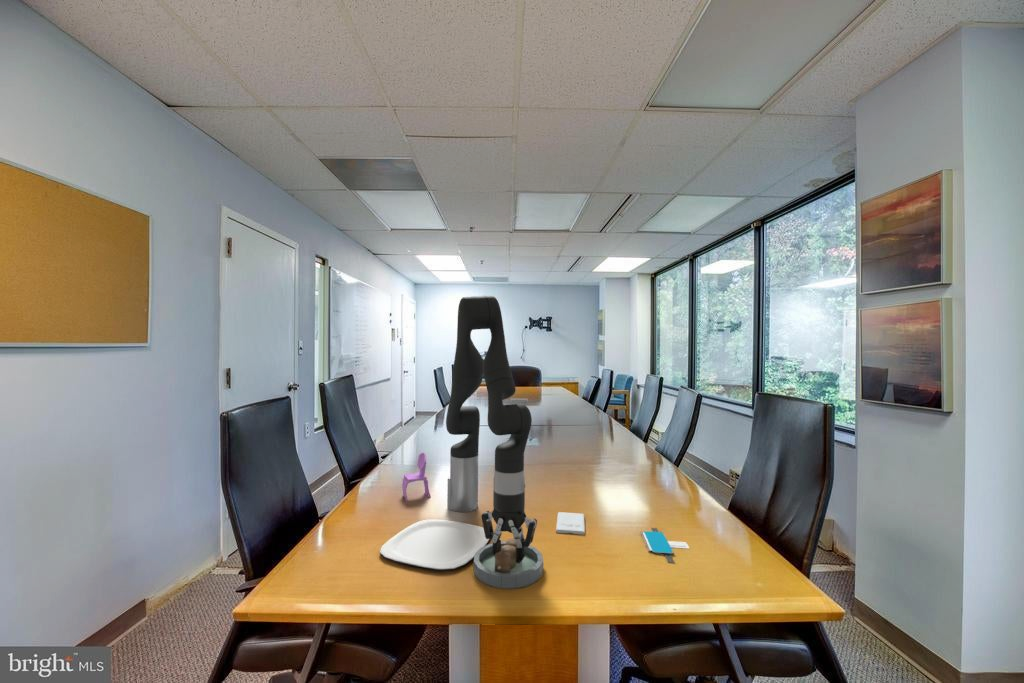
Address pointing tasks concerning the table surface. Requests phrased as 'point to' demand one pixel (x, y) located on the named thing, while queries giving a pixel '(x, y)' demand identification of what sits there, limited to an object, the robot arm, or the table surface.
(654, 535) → the blue flat panel
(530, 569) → the round tray
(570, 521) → the external hard drive
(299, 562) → the table surface
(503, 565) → the bead string
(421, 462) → the toy chair
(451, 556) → the plate
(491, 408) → the robot arm
